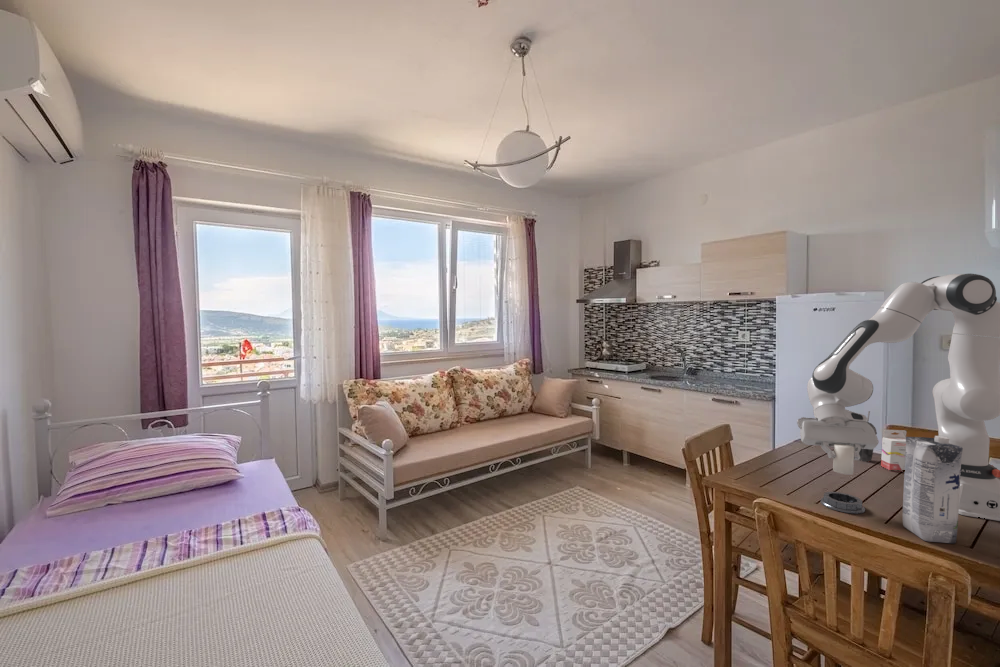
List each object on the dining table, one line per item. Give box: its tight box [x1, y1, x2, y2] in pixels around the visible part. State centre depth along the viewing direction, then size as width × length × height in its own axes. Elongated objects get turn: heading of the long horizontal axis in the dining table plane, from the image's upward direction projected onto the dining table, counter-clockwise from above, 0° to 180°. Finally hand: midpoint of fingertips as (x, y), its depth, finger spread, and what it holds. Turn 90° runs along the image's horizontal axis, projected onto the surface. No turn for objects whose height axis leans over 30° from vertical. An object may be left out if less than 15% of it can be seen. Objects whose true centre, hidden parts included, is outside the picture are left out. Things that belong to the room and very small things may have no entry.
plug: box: [832, 444, 855, 476], centre depth 141 cm, size 5×5×8 cm
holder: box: [820, 491, 866, 515], centre depth 141 cm, size 11×11×3 cm
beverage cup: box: [858, 410, 878, 462], centre depth 184 cm, size 7×7×20 cm
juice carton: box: [902, 435, 963, 545], centre depth 122 cm, size 9×10×27 cm
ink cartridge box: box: [880, 429, 907, 471], centre depth 173 cm, size 9×5×15 cm, turn 84°
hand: (844, 458), depth 140 cm, fingers closed on plug, 5 cm apart
